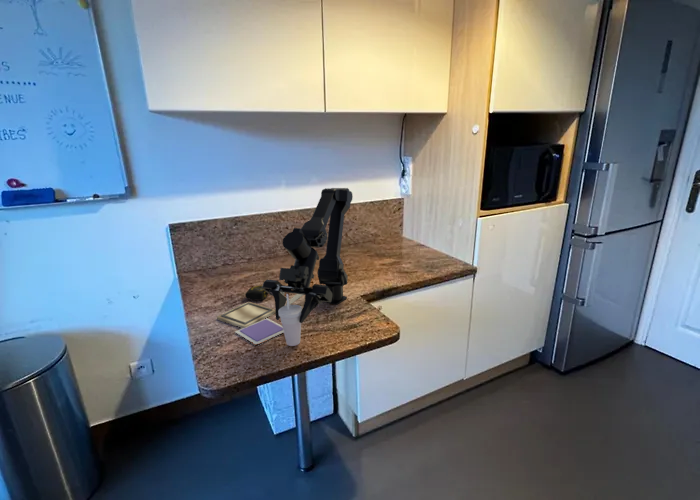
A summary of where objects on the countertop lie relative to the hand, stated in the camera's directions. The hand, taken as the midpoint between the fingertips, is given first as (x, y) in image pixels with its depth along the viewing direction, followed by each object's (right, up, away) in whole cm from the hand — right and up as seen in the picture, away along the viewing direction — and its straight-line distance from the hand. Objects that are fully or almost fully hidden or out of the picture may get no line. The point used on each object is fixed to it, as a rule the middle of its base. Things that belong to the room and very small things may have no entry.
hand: (288, 321), depth 95 cm
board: (-17, -3, +22) cm, 27 cm away
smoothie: (+1, -7, +3) cm, 7 cm away
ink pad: (-10, -5, +11) cm, 16 cm away
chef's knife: (-3, +1, +35) cm, 35 cm away
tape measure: (-17, +1, +35) cm, 39 cm away
